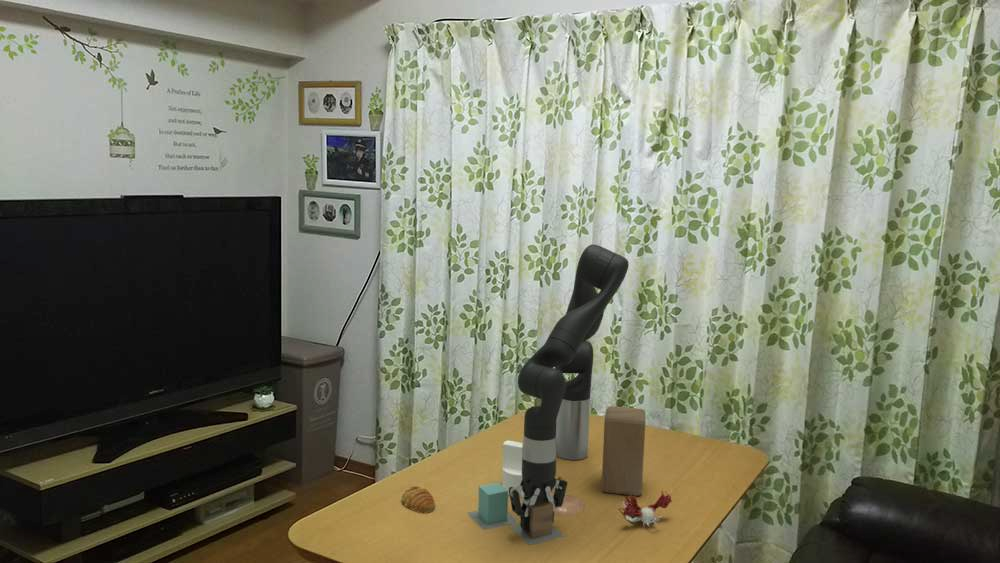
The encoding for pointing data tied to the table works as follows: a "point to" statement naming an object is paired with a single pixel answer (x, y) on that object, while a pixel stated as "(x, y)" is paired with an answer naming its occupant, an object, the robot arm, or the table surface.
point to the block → (623, 450)
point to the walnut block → (541, 519)
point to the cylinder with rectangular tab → (512, 465)
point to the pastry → (418, 499)
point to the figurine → (644, 509)
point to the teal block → (493, 503)
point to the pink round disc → (569, 506)
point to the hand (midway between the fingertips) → (536, 527)
